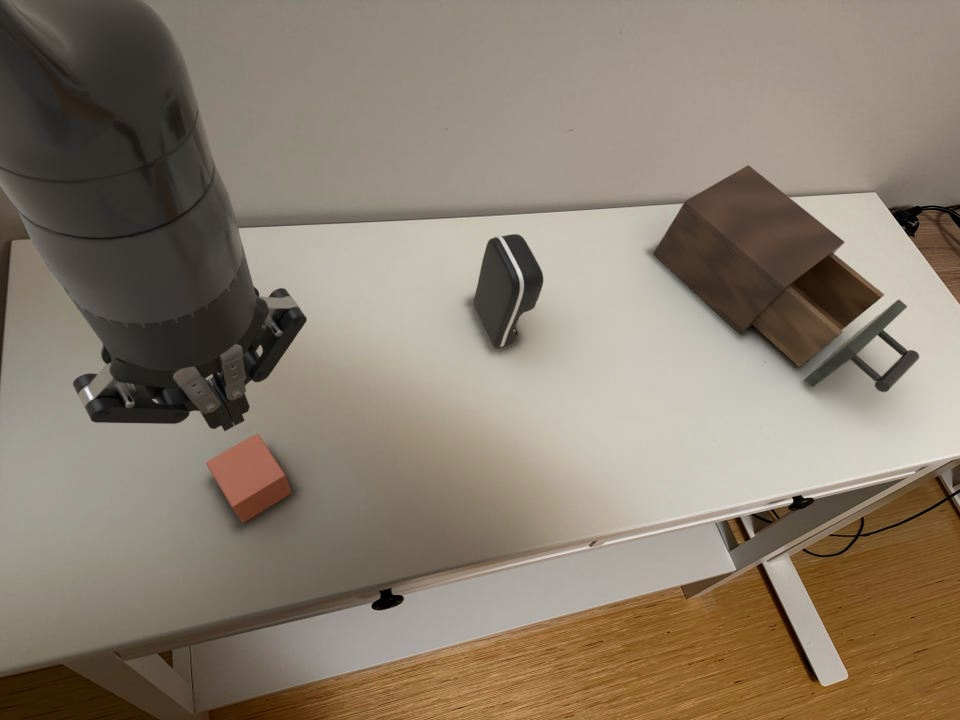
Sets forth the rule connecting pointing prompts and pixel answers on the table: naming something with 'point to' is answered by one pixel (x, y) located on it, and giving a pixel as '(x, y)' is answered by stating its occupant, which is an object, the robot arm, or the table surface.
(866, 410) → the table surface
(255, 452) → the block
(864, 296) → the drawer
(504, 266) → the battery charger
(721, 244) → the cabinet
